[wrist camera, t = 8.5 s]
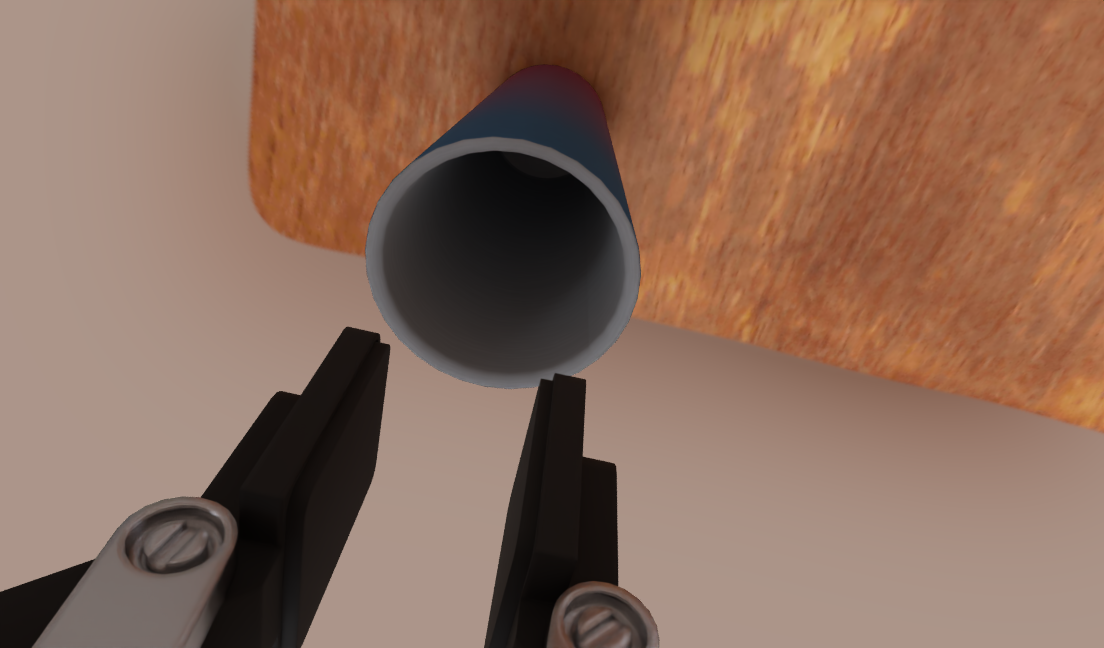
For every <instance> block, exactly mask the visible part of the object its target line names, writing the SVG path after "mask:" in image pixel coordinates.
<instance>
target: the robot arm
mask: <svg viewBox="0 0 1104 648" xmlns="http://www.w3.org/2000/svg"><path fill="white" fill-rule="evenodd" d="M389 355H390V345H389V344H384V343H380V334H378V333H374V332H369V331H365V330H361V329H356V328H352V327H346V328H345V329H344V330H343V332H342V333H341V335H340V336H339V338H338V339H337V341H336V342H335V344H334V345H333V347H332V349H331V350H330V351H329V353H328V355H327V356H326V358H325V359H324V361H323V362H322V364H321V365H320V367H319V368H318V370H317V371H316V373H315V375H314V376H313V378H312V379H311V381H310V382H309V384H308V385H307V387H306V388H305V390H304V391H303V393H302V394H301V395H297V394H292V393H287V392H283V391H279V392H277V393H276V394H275V395H274V396H273V397H272V398H271V399H270V401H269V402H268V404H267V405H266V407H265V408H264V409H263V411H262V412H261V414H260V415H259V416H258V418H257V419H256V421H255V422H254V423H253V425H252V426H251V428H250V429H249V430H248V432H247V433H246V435H245V436H244V437H243V439H242V440H241V442H240V443H239V444H238V446H237V447H236V449H235V450H234V451H233V453H232V454H231V456H230V457H229V458H228V460H227V461H226V463H225V464H224V466H223V467H222V468H221V470H220V471H219V472H218V474H217V475H216V477H215V478H214V479H213V481H212V482H211V484H210V485H209V487H208V488H207V489H206V491H205V492H204V494H203V495H202V496H201V498H199V497H177V498H171V499H164V500H161V501H158V502H156V503H153V504H150V505H147V506H145V507H143V508H142V509H140V510H138V511H137V512H135V513H134V514H132V515H130V516H129V517H128V518H127V519H126V520H125V521H124V522H123V523H122V524H121V525H120V527H118V528H117V530H116V531H115V532H114V534H113V535H112V537H111V538H110V539H109V541H108V542H107V544H106V545H105V547H104V548H103V549H102V550H101V552H100V553H99V555H98V556H97V557H96V559H94V560H91V561H88V562H85V563H82V564H79V565H76V566H73V567H71V568H68V569H65V570H62V571H59V572H56V573H53V574H50V575H48V576H45V577H42V578H39V579H36V580H33V581H30V582H27V583H25V584H22V585H19V586H16V587H13V588H10V589H8V590H4V591H2V592H0V648H301V646H302V644H303V642H304V639H305V637H306V635H307V633H308V630H309V628H310V625H311V623H312V621H313V618H314V616H315V614H316V611H317V609H318V606H319V604H320V602H321V600H322V597H323V595H324V593H325V590H326V588H327V585H328V583H329V581H330V578H331V576H332V574H333V571H334V569H335V567H336V564H337V562H338V560H339V557H340V555H341V553H342V550H343V548H344V545H345V543H346V541H347V538H348V536H349V534H350V531H351V529H352V527H353V524H354V522H355V520H356V517H357V515H358V512H359V510H360V508H361V506H362V503H363V501H364V498H365V496H366V494H367V491H368V489H369V487H370V484H371V482H372V478H373V475H374V471H375V467H376V460H377V452H378V444H379V436H380V428H381V420H382V412H383V404H384V396H385V388H386V379H387V372H388V364H389ZM585 394H586V380H585V379H581V378H576V377H572V376H567V375H563V374H558V373H555V374H554V377H553V380H552V381H551V380H547V379H542V378H541V380H540V383H539V387H538V391H537V395H536V399H535V403H534V407H533V411H532V415H531V419H530V423H529V427H528V430H527V434H526V438H525V442H524V446H523V450H522V454H521V458H520V462H519V466H518V470H517V474H516V478H515V482H514V485H513V489H512V493H511V497H510V502H509V507H508V512H507V517H506V523H505V529H504V535H503V541H502V546H501V552H500V559H499V564H498V570H497V576H496V581H495V587H494V594H493V599H492V605H491V611H490V616H489V622H488V628H487V634H486V639H485V646H484V648H659V635H658V630H657V625H656V623H655V621H654V619H653V617H652V616H651V613H650V611H649V610H648V609H647V608H646V607H645V606H644V605H643V603H642V602H641V601H640V600H639V599H638V598H637V597H635V596H634V595H632V594H631V593H629V592H628V591H626V590H625V589H623V588H620V587H618V535H617V533H618V532H617V472H616V466H615V464H614V463H610V462H605V461H600V460H596V459H591V458H586V457H583V436H584V414H585Z"/></svg>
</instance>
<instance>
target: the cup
mask: <svg viewBox="0 0 1104 648" xmlns="http://www.w3.org/2000/svg"><path fill="white" fill-rule="evenodd" d="M365 253H366V269H367V276H368V280H369V284H370V287H371V291H372V294H373V298H374V300H375V302H376V304H377V306H378V308H379V310H380V312H381V314H382V316H383V318H384V320H385V321H386V323H387V324H388V325H389V326H390V328H391V329H392V330H393V332H394V333H395V335H396V336H397V337H398V339H399V340H400V341H402V342H403V343H404V344H405V345H406V346H407V347H408V348H409V349H410V350H411V351H412V352H413V353H414V354H415V355H416V356H418V357H419V358H421V359H422V360H424V361H426V362H427V363H428V364H430V365H431V366H433V367H434V368H436V369H437V370H439V371H441V372H444V373H446V374H448V375H450V376H452V377H455V378H457V379H459V380H462V381H466V382H469V383H473V384H477V385H481V386H485V387H495V388H504V389H517V388H532V387H537V386H539V383H540V380H541V378H542V379H547V380H551V381H552V380H553V377H554V374H555V373H558V374H563V375H567V376H572V375H574V374H576V373H579V372H580V371H582V370H583V369H585V368H586V367H588V366H589V365H590V364H592V363H593V362H595V361H596V360H598V359H599V358H600V357H601V356H602V355H603V354H604V353H605V352H606V351H607V350H608V349H609V348H610V347H611V346H612V345H613V344H614V343H615V342H616V341H617V339H618V338H619V336H620V335H621V333H622V331H623V330H624V328H625V327H626V325H627V324H628V322H629V320H630V317H631V315H632V312H633V309H634V307H635V304H636V301H637V298H638V292H639V285H640V278H641V268H640V254H639V247H638V243H637V239H636V235H635V231H634V227H633V224H632V220H631V216H630V212H629V208H628V204H627V200H626V196H625V192H624V188H623V184H622V181H621V177H620V173H619V169H618V165H617V161H616V157H615V153H614V149H613V145H612V141H611V138H610V134H609V130H608V126H607V122H606V118H605V114H604V111H603V107H602V104H601V101H600V99H599V97H598V95H597V94H596V92H595V90H594V89H593V88H592V87H591V85H590V84H589V83H588V82H587V81H586V80H585V79H583V78H582V77H581V76H580V75H578V74H577V73H575V72H573V71H571V70H569V69H567V68H563V67H560V66H556V65H537V66H531V67H528V68H526V69H523V70H521V71H519V72H517V73H516V74H514V75H512V76H511V77H510V78H509V79H507V80H506V81H505V82H504V83H503V84H502V85H500V86H499V87H498V88H497V89H496V90H495V91H494V92H492V93H491V94H490V95H489V96H488V97H487V98H485V99H484V100H483V101H482V102H481V103H480V104H479V105H477V106H476V107H475V108H474V109H473V110H472V111H470V112H469V113H468V114H467V115H466V116H465V117H464V118H462V119H461V120H460V121H459V122H458V123H457V124H455V125H454V126H453V127H452V128H451V129H450V130H448V131H447V132H446V133H445V134H444V135H443V136H442V137H440V138H439V139H438V140H437V141H436V142H435V143H433V144H432V145H431V146H430V147H429V148H428V149H427V150H425V151H424V152H423V153H422V154H421V155H420V156H418V157H417V158H416V159H415V160H414V161H413V162H412V163H410V164H409V165H408V166H407V167H406V168H405V169H404V170H403V171H402V172H401V173H400V174H399V175H397V176H396V177H395V178H394V179H393V180H392V182H391V183H390V185H389V186H388V188H387V189H386V191H385V192H384V193H383V195H382V196H381V198H380V199H379V201H378V203H377V206H376V208H375V211H374V213H373V216H372V218H371V221H370V223H369V228H368V234H367V241H366V247H365Z"/></svg>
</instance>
